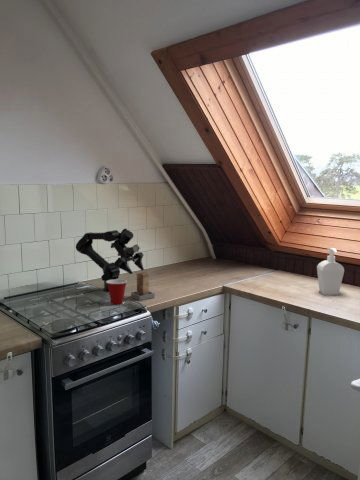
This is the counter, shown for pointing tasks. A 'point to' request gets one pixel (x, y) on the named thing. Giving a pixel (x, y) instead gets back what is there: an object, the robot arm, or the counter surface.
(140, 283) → the walnut block
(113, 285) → the plastic cup
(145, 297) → the tray
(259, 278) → the counter surface
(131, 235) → the robot arm
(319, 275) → the soap bottle
